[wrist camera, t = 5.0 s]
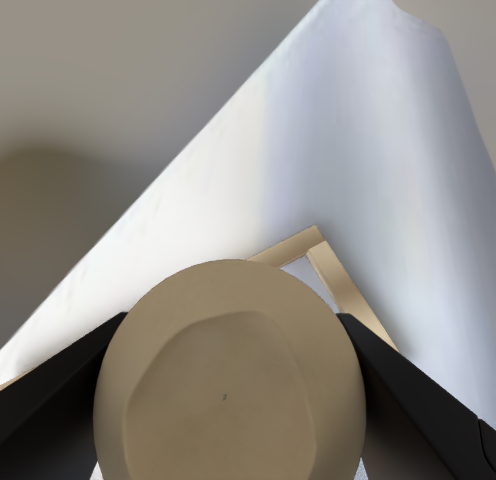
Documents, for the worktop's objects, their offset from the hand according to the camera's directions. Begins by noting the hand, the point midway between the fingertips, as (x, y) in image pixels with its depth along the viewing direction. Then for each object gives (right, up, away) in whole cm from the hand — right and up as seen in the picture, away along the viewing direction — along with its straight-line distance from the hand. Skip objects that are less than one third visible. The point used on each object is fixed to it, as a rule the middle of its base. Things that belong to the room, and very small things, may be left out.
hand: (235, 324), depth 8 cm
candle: (0, -4, +6) cm, 7 cm away
